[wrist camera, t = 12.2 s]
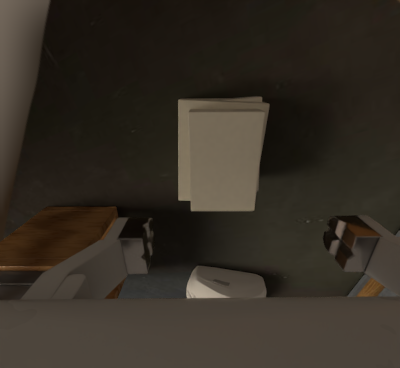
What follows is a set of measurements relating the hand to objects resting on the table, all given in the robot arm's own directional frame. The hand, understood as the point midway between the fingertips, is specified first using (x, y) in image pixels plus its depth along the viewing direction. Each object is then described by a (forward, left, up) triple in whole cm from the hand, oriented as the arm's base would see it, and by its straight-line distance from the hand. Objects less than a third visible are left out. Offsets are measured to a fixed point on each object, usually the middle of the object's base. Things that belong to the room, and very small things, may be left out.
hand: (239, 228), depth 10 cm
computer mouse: (+2, -24, -18) cm, 30 cm away
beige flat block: (0, 0, -12) cm, 12 cm away
